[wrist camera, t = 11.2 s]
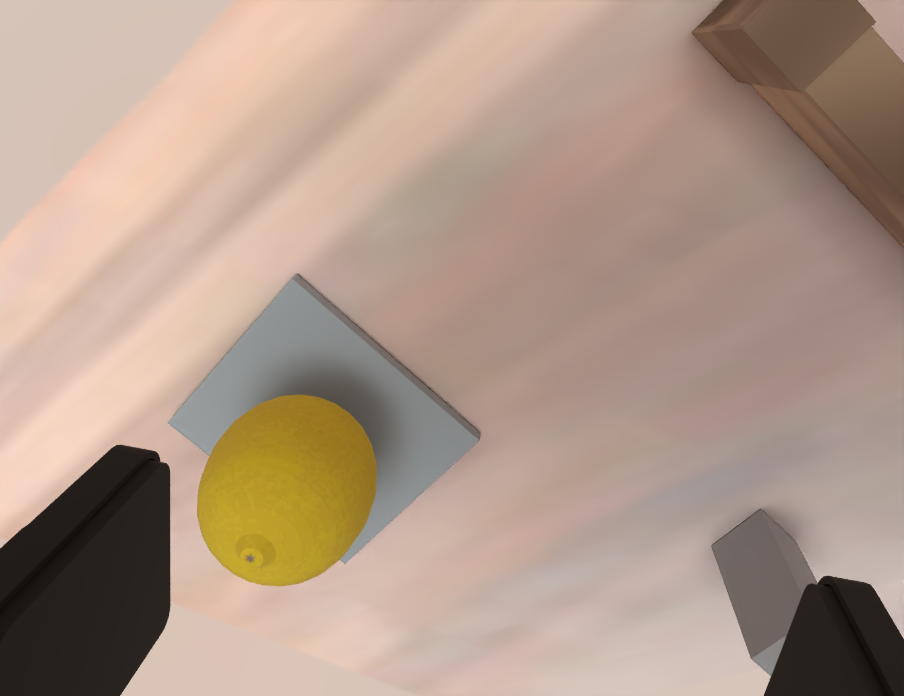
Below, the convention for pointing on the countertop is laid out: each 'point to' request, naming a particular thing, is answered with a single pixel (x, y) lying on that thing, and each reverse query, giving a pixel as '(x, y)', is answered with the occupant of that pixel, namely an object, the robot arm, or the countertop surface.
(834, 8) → the brown wooden block
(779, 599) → the post
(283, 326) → the mat
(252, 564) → the lemon
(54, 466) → the countertop surface
